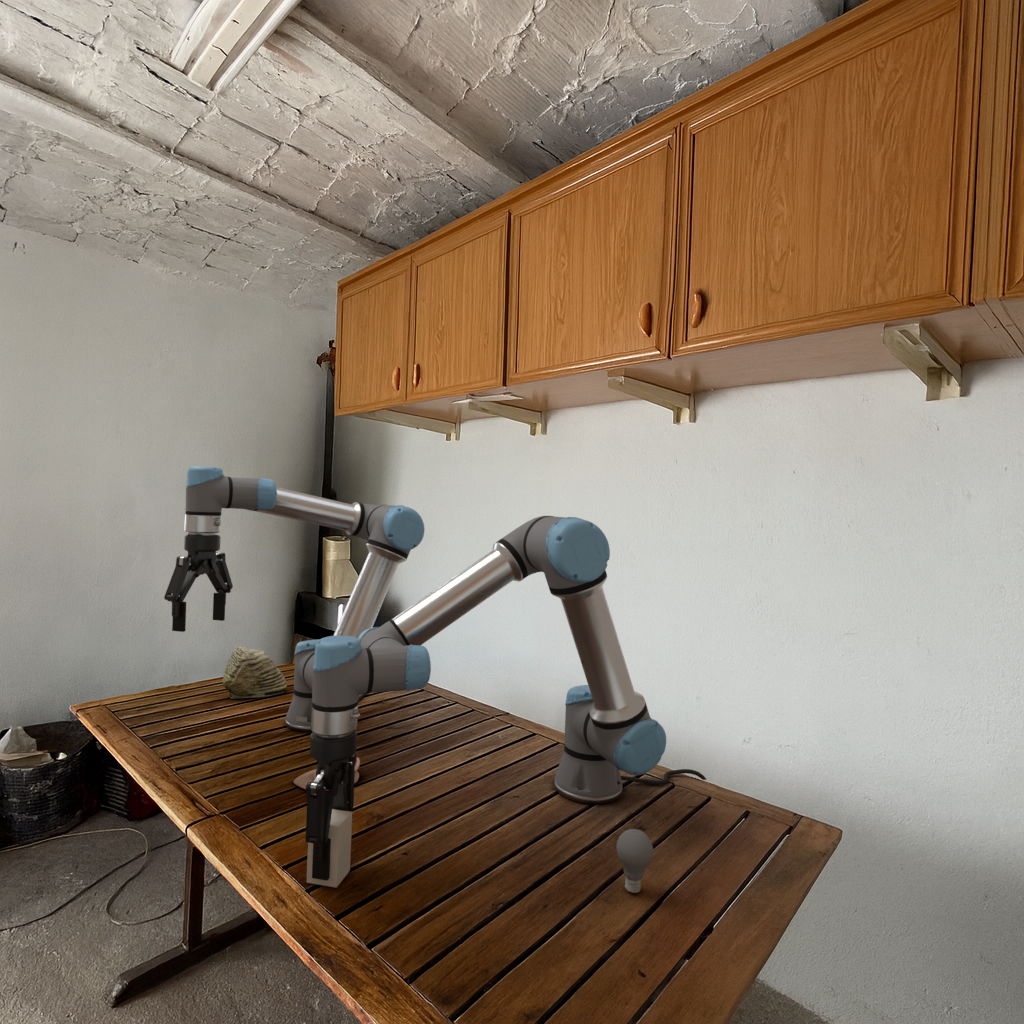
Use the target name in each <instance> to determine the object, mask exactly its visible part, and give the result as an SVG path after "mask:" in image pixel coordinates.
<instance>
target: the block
mask: <svg viewBox="0 0 1024 1024" xmlns="http://www.w3.org/2000/svg"><path fill="white" fill-rule="evenodd" d="M352 814H353V811H343V810H336V809H332V814H331V821H330V828H329V835H328V838H329V839H331V848H330V874H329V879H328V880H327V881H326V880H320V879H314V878H312V863H313V843H307V856H306V857H307V858H306V859H307V861H306V883H307V884H313V885H318V886H323V887H324V886H325V887H330V888H338V887H339V885H340V884H341V882H343V880H344V879H345V877H346V876H348V874H349V872H351V857H352V856H351V855H352V853H351V851H352V829H353V817H352Z"/></svg>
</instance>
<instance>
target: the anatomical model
mask: <svg viewBox="0 0 1024 1024" xmlns="http://www.w3.org/2000/svg"><path fill="white" fill-rule="evenodd" d="M360 765H361V759H360V757H356V763H355V775H354V785H355V784H357V782H358V781H359V779H360V773H359V772H358V771H359V769H360ZM316 770H317V768H315V769H313V770H309V771H307V772H304V773H303V774H301V775H299V776H297V777H296V778H294V779H293V784H294V785H295V786H297V787H299V788H301V789H304V790H306V785H307V783H308V782H314V780H315V779H316Z"/></svg>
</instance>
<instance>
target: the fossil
mask: <svg viewBox="0 0 1024 1024" xmlns="http://www.w3.org/2000/svg"><path fill="white" fill-rule="evenodd" d="M222 676H223V677H222V685H223V687H224V688H225V690H226V691H228V693H229V698H230V699H250V698H264V697H271V696H275V695H281V694H284V693H285V691H286V689H287V687H288V686H287V680H286V678H285V676H284V674H283V673H282V672H281V669H279V668H278V667H277V665H276V663H275V662H274V660H273V659H272V658H271V657H270V656H269V655H268V654H267V653H266V652H265V650H264V649H263V648H260V647H258V648H251V647H247V646H246V647H245V646H238V647H237V648H236V649H235V650H233V651H232V653H231V656H230V657H229V659H228V660H227V663H226V666H225V668H224V671H223V675H222Z"/></svg>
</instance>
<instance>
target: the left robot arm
mask: <svg viewBox="0 0 1024 1024" xmlns="http://www.w3.org/2000/svg"><path fill="white" fill-rule="evenodd" d="M222 509H236V510H237V509H238V510H247V511H251V512H258V513H262V514H267V515H272V516H276V517H280V518H281V517H282V518H284V519H290V520H295V521H298V522H304V523H308V524H314V525H316V526H317V525H318V526H323V527H327V528H331V529H337V530H341V531H344V532H345V534H347V535H348V536H352V537H356V538H359V539H362V540H364V541H367V542H366V544H365V545H366V548H367V550H368V554H367V556H366V559H365V561H364V563H363V566H362V568H361V570H360V573H359V575H358V577H357V579H356V582H355V584H354V587H353V589H352V592H351V594H350V595H349V598H348V601H347V603H346V606H345V607H344V611H343V612H342V615H341V617H340V618H339V622H338V624H337V626H336V629H335V631H334V633H333V636H339V635H341V636H353V637H356V638H358V637H359V635H360V634H361V633H362V632H363V631H365V630H366V629H368V628H372V627H374V625H375V622H376V620H377V617H378V615H379V612H380V610H381V608H382V605H383V603H384V600H385V598H386V596H387V593H388V591H389V590H390V589H389V588H390V586H391V584H392V581H393V579H394V578H395V577H394V576H395V575H396V571H397V569H398V566H399V565H400V564H402V563H404V562H406V561H407V560H408V557H409V555H410V553H411V550H413V549H415V548H417V547H419V545H420V544H421V542H422V541H423V540H424V536H425V530H426V529H425V522H424V521H423V518H422V517H421V515H420V514H419V513H418V511H416V510H415V509H413V508H412V507H409V506H405V505H403V504H402V505H400V504H399V505H394V504H371V503H370V504H369V503H362V502H357V501H354V502H352V503H347V502H342V501H338V500H334V499H330V498H326V497H321V496H317V495H313V494H309V493H304V492H300V491H297V490H291V489H287V488H283V487H279V486H277V484H276V482H275V481H274V480H273V479H271V478H263V477H243V476H242V477H241V476H240V477H237V476H236V477H235V476H234V477H233V476H227V475H224V470H223V468H222V467H213V466H198V465H197V466H191V467H189V468H188V469H187V472H186V483H185V513H184V514H185V515H184V527H183V528H184V530H183V531H184V532H185V533H186V534H185V535H184V537H183V539H184V540H183V549H184V551H186V552H187V556H181V555H179V556H176V559H175V566H174V569H173V572H172V574H171V578H170V580H169V583H168V586H167V588H166V591H165V594H164V597H163V598H164V600H165V601H167V602H170V603H171V617H172V620H171V621H172V625H171V631H172V632H181V633H184V632H186V626H187V625H186V623H187V622H186V621H187V601H185V599H186V597H187V595H188V593H189V592H190V590H191V588H192V586H193V585H194V582H195V581H196V579H197V578H199V577H200V576H202V575H207V578H208V579H209V581H210V583H211V585H212V587H213V588H214V590H215V591H216V592H213V601H212V620H213V621H221V622H223V621H225V620H226V604H227V594H230V593H231V592H232V589H233V588H234V586H233V581H232V578H231V575H230V571H229V568H228V565H227V561H226V559H227V557H226V553H225V552H220V550H221V538H222V536H221V535H220V534H219V533H220V532H221V531H222V530H221V528H222ZM218 551H219V552H218ZM320 639H321V638H320ZM320 639H307V640H303V641H299V642H297V644H296V645H295V650H294V651H295V652H294V653H293V654H294V655H293V656H294V672H293V673H294V674H293V695H292V696H293V697H292V699H291V702H290V704H289V708H288V711H287V713H286V715H285V726H286V728H287V729H289V730H291V731H294V732H295V731H296V732H301V733H312V732H313V731H312V730H311V714H312V689H313V664H314V654H315V646H316V643H317V642H318V641H319V640H320ZM366 694H367V693H363V694H360V695H359V699H358V701H360V700H362V699H363V698H364V696H366Z"/></svg>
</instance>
